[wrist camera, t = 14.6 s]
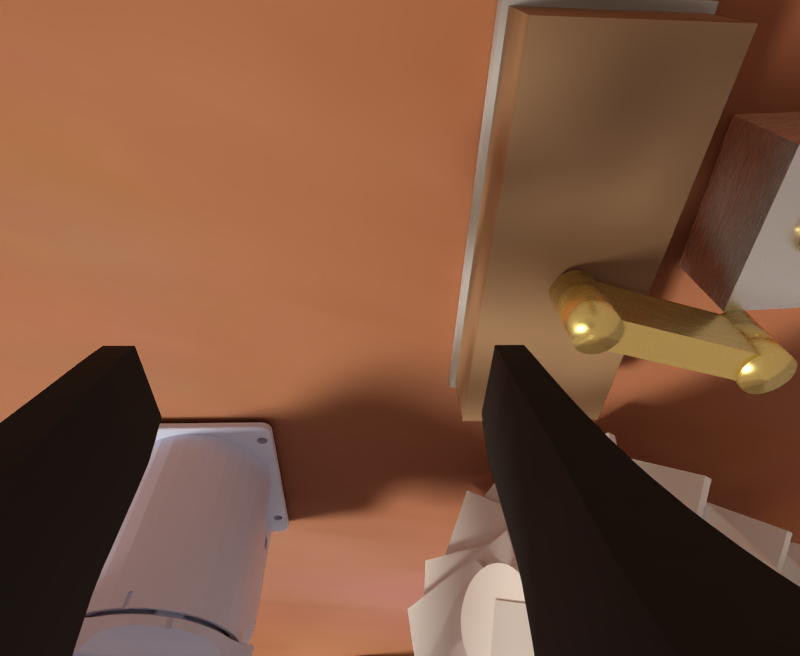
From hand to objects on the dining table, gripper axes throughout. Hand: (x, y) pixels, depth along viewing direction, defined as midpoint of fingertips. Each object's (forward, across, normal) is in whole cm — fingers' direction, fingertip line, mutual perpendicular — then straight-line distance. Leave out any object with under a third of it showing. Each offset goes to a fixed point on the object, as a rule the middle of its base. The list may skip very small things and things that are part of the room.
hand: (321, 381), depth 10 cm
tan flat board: (+10, -8, +2) cm, 13 cm away
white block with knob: (+10, -16, 0) cm, 19 cm away
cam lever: (+7, -11, +3) cm, 13 cm away
